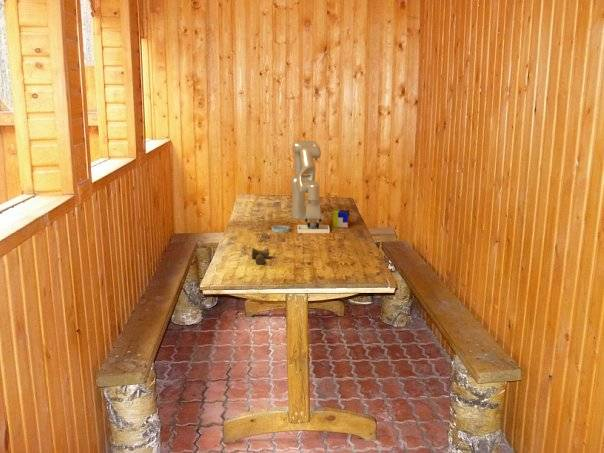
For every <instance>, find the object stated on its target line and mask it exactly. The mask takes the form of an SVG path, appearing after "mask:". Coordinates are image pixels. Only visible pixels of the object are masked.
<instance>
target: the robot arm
mask: <svg viewBox="0 0 604 453" xmlns="http://www.w3.org/2000/svg"><path fill="white" fill-rule="evenodd" d="M291 146H292V147H291V149H292V152H293V158H294V159H293V173H294V174H295V175H293V176H291V178H290V184H291V215H289V217H290V219H293V220H303V221H305V222H306V223H307V224H306V225H307V227H308V228H309V229H310V223H311V222H310V220H316V224H317V229H318V228H319V225H320V223H321V222H322V221H323V220H324V219H325V217H324V215H323V214H322V210H321V203H322V200H321V199H320V184H319V182H318V181H316V165H315V162H314V161H315V160H316V159H320V158H321V156H322V151H321V147H320V146H319V144H318V143H317V141H316V140H297V141H296V140H295V141H293V142H292V144H291ZM314 159H315V160H314ZM306 193H307V203H306Z"/></svg>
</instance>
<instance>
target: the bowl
mask: <svg viewBox="0 0 604 453" xmlns="http://www.w3.org/2000/svg"><path fill="white" fill-rule="evenodd" d="M290 228H291V227H290V226H288V225H274V226H271V232H273V233H276V234H277V233H279V234H280V233H281V234H282V233H283V234H284V233H289V232H290V230H291V229H290Z"/></svg>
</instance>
